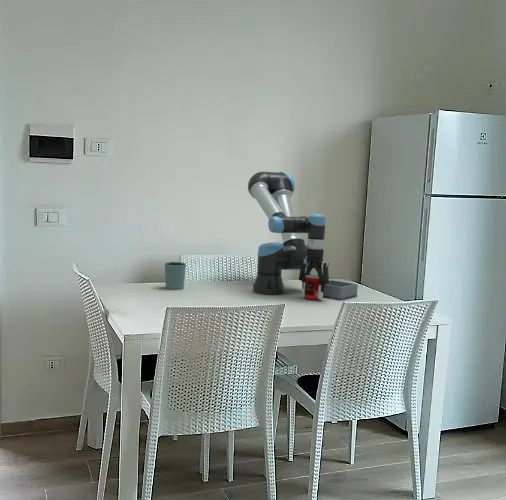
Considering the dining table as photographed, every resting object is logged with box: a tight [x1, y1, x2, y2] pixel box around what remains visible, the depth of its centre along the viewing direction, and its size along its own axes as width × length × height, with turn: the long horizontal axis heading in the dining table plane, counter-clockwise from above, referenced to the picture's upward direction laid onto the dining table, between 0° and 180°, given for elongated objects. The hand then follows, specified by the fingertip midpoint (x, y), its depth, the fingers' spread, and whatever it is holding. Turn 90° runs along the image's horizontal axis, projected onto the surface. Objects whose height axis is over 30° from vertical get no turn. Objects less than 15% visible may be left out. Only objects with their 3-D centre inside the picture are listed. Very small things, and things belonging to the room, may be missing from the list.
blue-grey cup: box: [164, 261, 187, 291], centre depth 329 cm, size 10×10×12 cm
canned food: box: [304, 273, 321, 301], centre depth 317 cm, size 8×8×11 cm
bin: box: [323, 279, 359, 301], centre depth 327 cm, size 15×15×6 cm
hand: (312, 297), depth 318 cm, fingers closed on canned food, 8 cm apart
